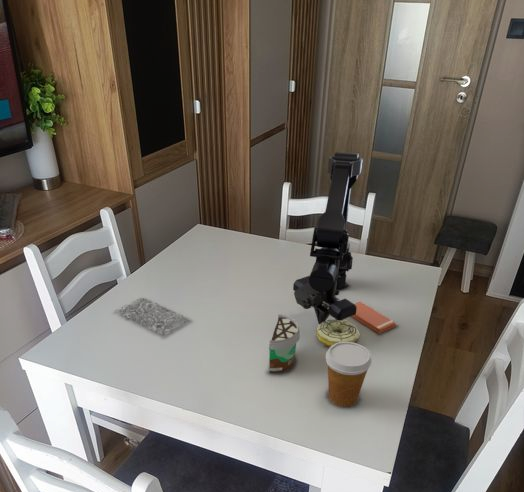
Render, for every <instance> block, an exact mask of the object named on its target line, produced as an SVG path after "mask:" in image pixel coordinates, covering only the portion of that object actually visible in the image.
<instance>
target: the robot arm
mask: <svg viewBox="0 0 524 492" xmlns="http://www.w3.org/2000/svg"><path fill="white" fill-rule="evenodd" d="M362 169H363V158H361V156H360V155H359V153H356V152H355V153H354V152H340V151H339V152H338V151H335V152H334V155H333V156H332V155H330V156H329V157H328V161H327V173H328V174H329V175H330V178H329V179H330V186H329V191H328V195H327V201H326V206H325V211H324V212H323V213H322V214H321V215H320V216H319V217H318V221H317V224H316V226H314V228H313V234H312V240H311V246H310V253H309V257H313V258H315V262H314V264H313V267H312V269H311V272H310V273H309V275H307V276H304V277H301V278H298V279H296V280H295V281H294V282H293V284H292V285H293V286H292V287H293V288H292V290H293V291H294V292H293V295H294V299H295V302H296V304H297V305H299V306H301V307H302V308H303V309H304V310H309V309H310V308H313V309H314V313H315V316H316V321H317V325H318V326H319V325H320V324H321V323H322V322H325V321H327V320H328V318H329V317H330V316H331V318H334V319H336V320H346V319H348V318H351V316H353V315H355V314H356V310H357V306H356V305H355V303H353V302H352V301H350V300H348V299H347V298H343V299H340V298H339V297H337V296H339V295H340V290H341V289H344V288H346V287H349V284H348V283H347V281H346V280H347V272H349V271H350V270H352V268H353V260H354V259H353V258H354V257H353V255H352V251H350V245H351V244H350V242H349V239H350V235H349V233H348V229H347V225H348V224H347V223H348V217H349V207H350V200H351V199H350V198H351V190H352V187H353V186H354V185H355V183H356V182H357V180H358V177H359V176H360V175H361V172H362ZM316 245H317V246H316ZM316 247H318V248H316Z"/></svg>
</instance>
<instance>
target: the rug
mask: <svg viewBox="0 0 524 492" xmlns="http://www.w3.org/2000/svg"><path fill="white" fill-rule="evenodd" d="M144 308H146V309H144ZM156 309H158V310H156ZM114 311H115V312H118V313H119V314H121V315H123V316H124V317H126V318H127V319H131V320H133V321H135V323H137V324H139V325H141V326H145V327H146V328H148V329H151V330H152V331H153V332H155V333H160V334H161V336H165V335H168V334H169V333H171V332H173V330H174V329H177V328H179V327H180V326H181V325H183V324H185V323H186V322H188V321H190V318H186V317H185V316H184V315H181V314H178V313H177V312H176V311H173V310H167V308H166V307H164V308H163V306H161V304H157V303H154V302H153V301H152V300H149V299H145V298H143V297H140V298H139V299H136V300H134V301H132V303H131V302H129V303H127V304H125V305H124V306H122V307H121V308H118V309H115V310H114ZM138 315H140V316H138ZM161 317H162V318H161ZM181 320H183V322H182V321H181Z"/></svg>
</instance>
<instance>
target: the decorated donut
mask: <svg viewBox="0 0 524 492" xmlns="http://www.w3.org/2000/svg"><path fill="white" fill-rule="evenodd" d="M316 336H317V339H318V340H319V342H320V343H322V344H323V345H324V346H325V347H328V348H330V347H331V346H332V345H334V344H336V343H339V342H353V343H357V340H358V338H360V332H359V329H358V328H357V326H356V325H355V324H354V323H352V322H350V321H348V320H346V319H343V320H336V319H335V318H334V319H326V321H325V322H322V323H321V324H320V325H319V324H318V326H317V328H316Z"/></svg>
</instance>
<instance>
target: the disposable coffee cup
mask: <svg viewBox="0 0 524 492" xmlns="http://www.w3.org/2000/svg"><path fill="white" fill-rule="evenodd" d="M372 360H373V359H372V357H371V352H370V351H369V349H367V348H366V347H365V346H363V344H359V343H357V342H355V343H353V342H339V343H336V344H334V345H332V346H331V347H328V350H327V351H326V353H325V361H326V365H327V366H326V367H327V383H328V384H327V385H328V386H327V387H328V399H329V400H330V402H331V403H333V404H334V405H336V406H339V407H342V408H344V407H345V408H347V407H352V406H354V405H356V403H357V402H358V399H359V396H360V393H361V390H362V387H363V385H364V382H365V379H366V375H367V372H368V370H369V368H370V367H371V366H372V363H373V361H372Z"/></svg>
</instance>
